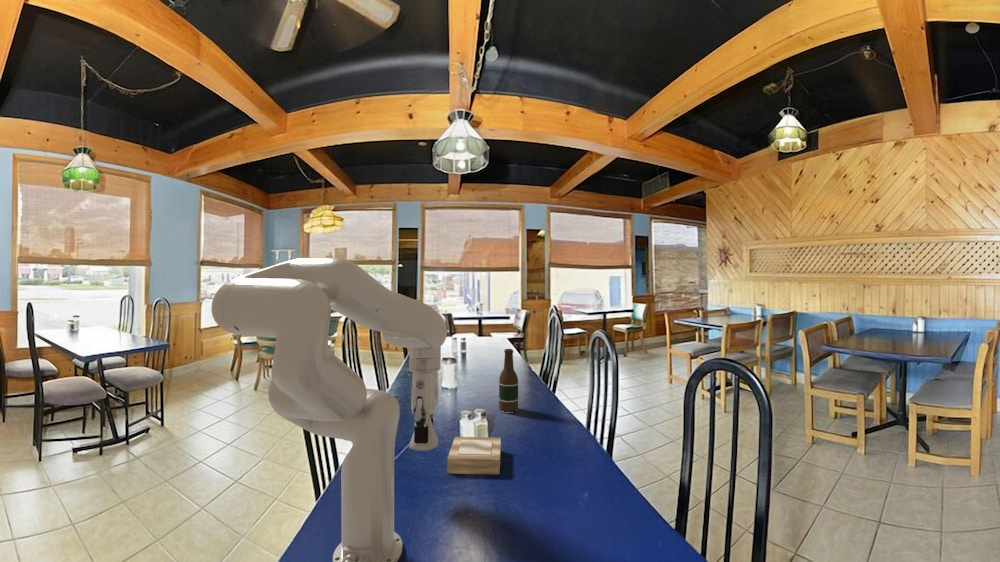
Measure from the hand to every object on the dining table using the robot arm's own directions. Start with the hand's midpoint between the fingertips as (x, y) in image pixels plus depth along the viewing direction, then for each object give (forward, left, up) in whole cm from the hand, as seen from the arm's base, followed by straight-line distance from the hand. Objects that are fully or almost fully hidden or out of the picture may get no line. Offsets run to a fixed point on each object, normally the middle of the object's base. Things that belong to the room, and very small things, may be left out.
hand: (423, 437), depth 96 cm
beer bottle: (+59, -20, -14) cm, 64 cm away
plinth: (+17, -11, -14) cm, 24 cm away
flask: (0, 0, -2) cm, 2 cm away
